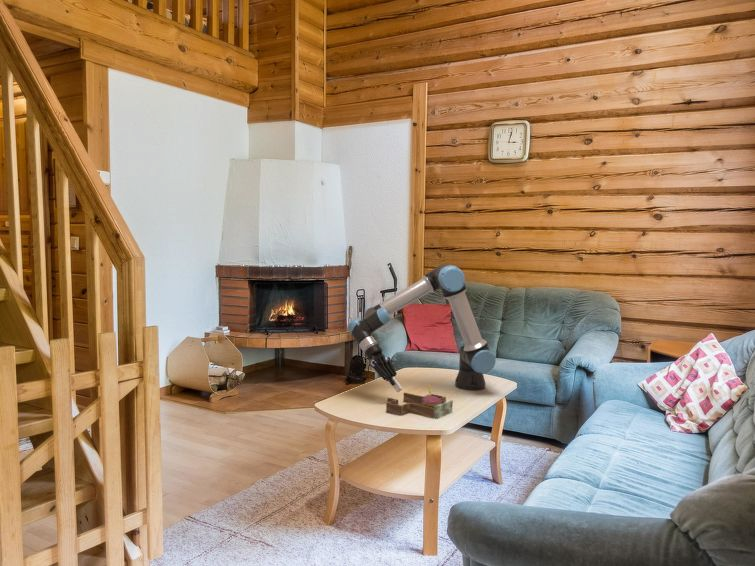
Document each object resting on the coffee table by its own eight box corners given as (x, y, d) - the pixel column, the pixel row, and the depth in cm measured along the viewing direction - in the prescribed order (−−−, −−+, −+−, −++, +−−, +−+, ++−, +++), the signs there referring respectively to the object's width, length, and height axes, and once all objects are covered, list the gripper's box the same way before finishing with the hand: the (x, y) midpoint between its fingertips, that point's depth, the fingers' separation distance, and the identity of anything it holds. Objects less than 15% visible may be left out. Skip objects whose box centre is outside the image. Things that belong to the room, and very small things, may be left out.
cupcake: (417, 411, 254) (418, 384, 253) (430, 408, 260) (431, 381, 259) (432, 416, 248) (433, 388, 247) (445, 413, 253) (446, 385, 252)
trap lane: (412, 398, 275) (413, 387, 275) (460, 409, 260) (460, 397, 260) (378, 410, 255) (378, 398, 255) (426, 422, 239) (427, 410, 239)
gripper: (375, 351, 279) (403, 392, 270) (357, 355, 269) (386, 398, 260) (384, 341, 276) (413, 382, 267) (366, 345, 266) (396, 388, 257)
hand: (399, 390), depth 263 cm, fingers closed
